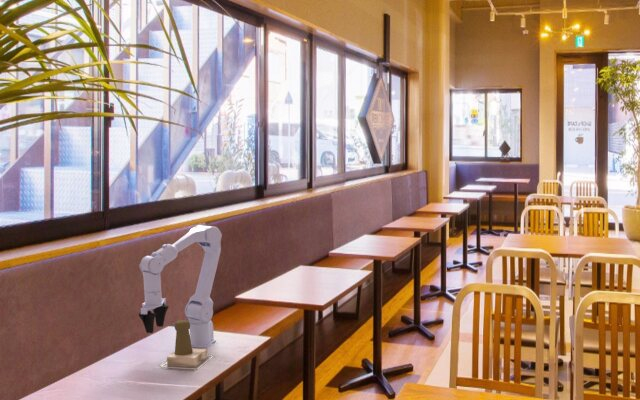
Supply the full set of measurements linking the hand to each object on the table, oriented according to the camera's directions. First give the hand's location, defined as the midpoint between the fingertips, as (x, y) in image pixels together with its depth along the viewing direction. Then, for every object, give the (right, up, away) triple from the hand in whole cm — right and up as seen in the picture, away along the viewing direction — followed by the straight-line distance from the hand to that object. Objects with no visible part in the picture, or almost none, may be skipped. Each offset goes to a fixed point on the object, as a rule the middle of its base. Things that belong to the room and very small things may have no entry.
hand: (155, 329), depth 232 cm
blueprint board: (+11, -11, -4) cm, 16 cm away
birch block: (+12, -10, -4) cm, 16 cm away
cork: (+11, -7, -4) cm, 14 cm away
